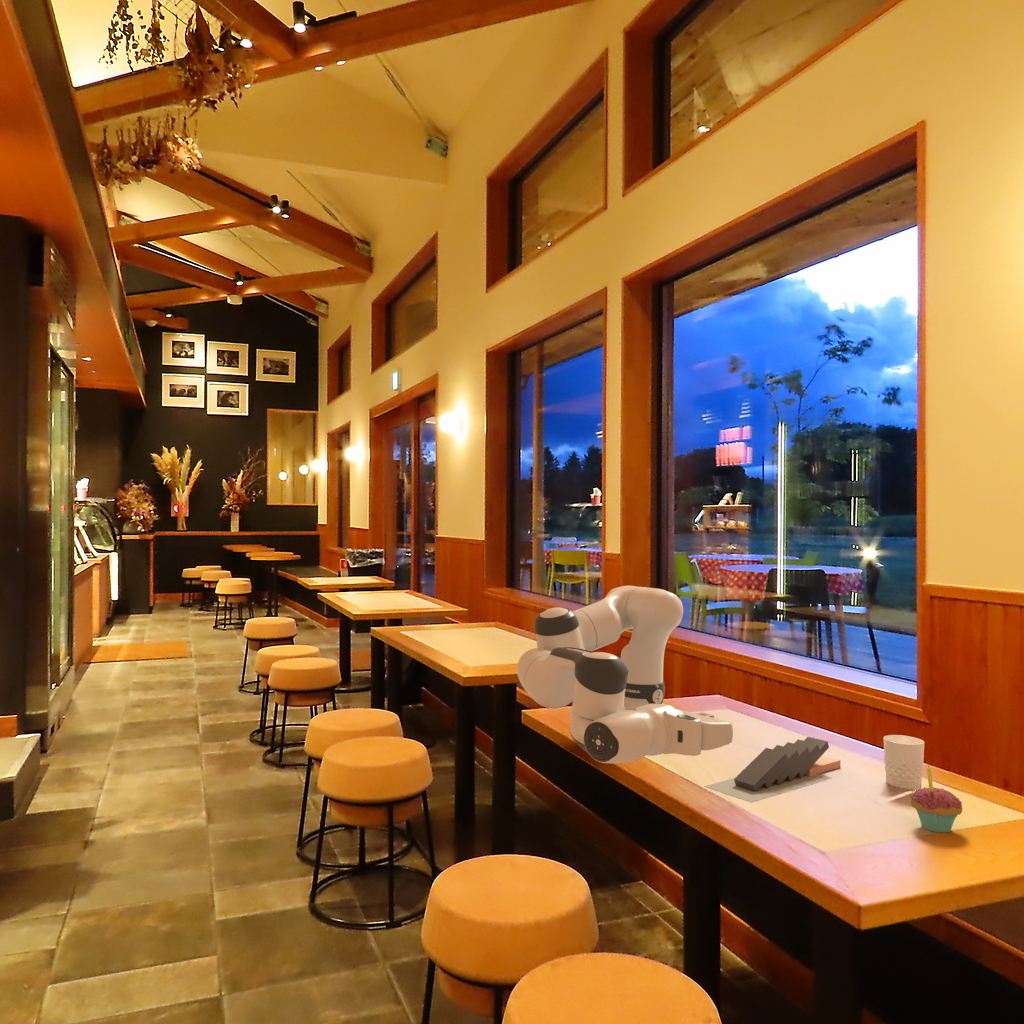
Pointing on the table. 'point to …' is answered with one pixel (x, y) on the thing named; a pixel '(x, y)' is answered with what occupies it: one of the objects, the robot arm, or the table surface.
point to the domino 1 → (760, 769)
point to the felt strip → (762, 793)
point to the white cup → (904, 761)
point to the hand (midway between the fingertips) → (708, 717)
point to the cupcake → (936, 807)
